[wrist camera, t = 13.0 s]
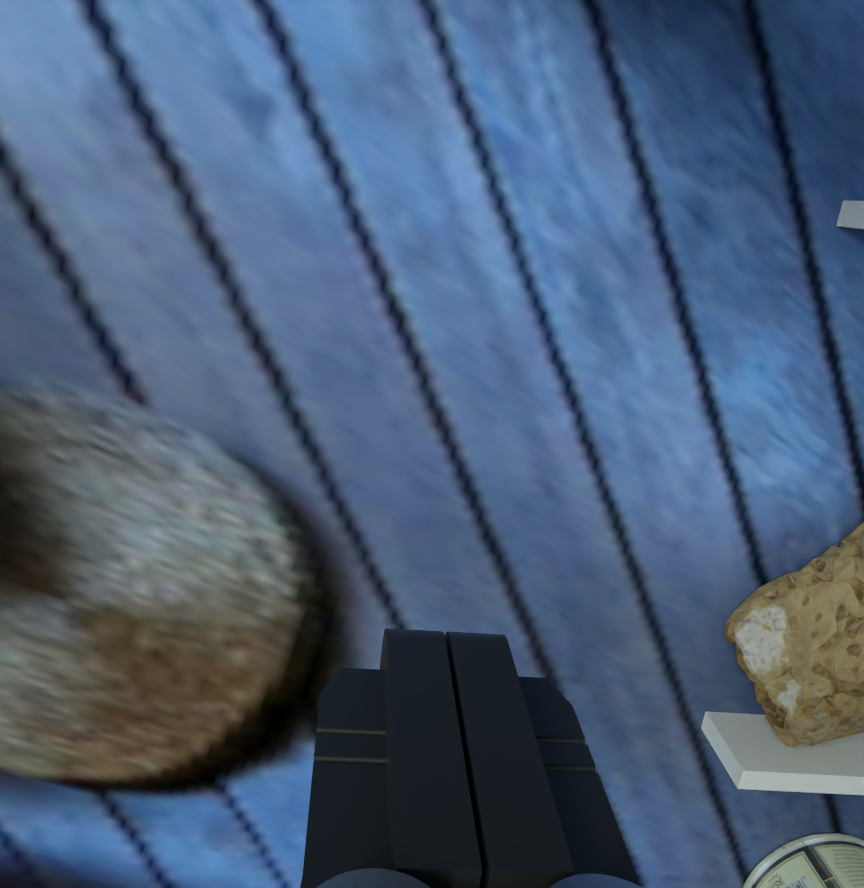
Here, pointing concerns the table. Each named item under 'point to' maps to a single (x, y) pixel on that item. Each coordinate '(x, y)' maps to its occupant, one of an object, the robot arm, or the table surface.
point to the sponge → (808, 646)
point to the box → (755, 742)
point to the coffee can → (812, 864)
